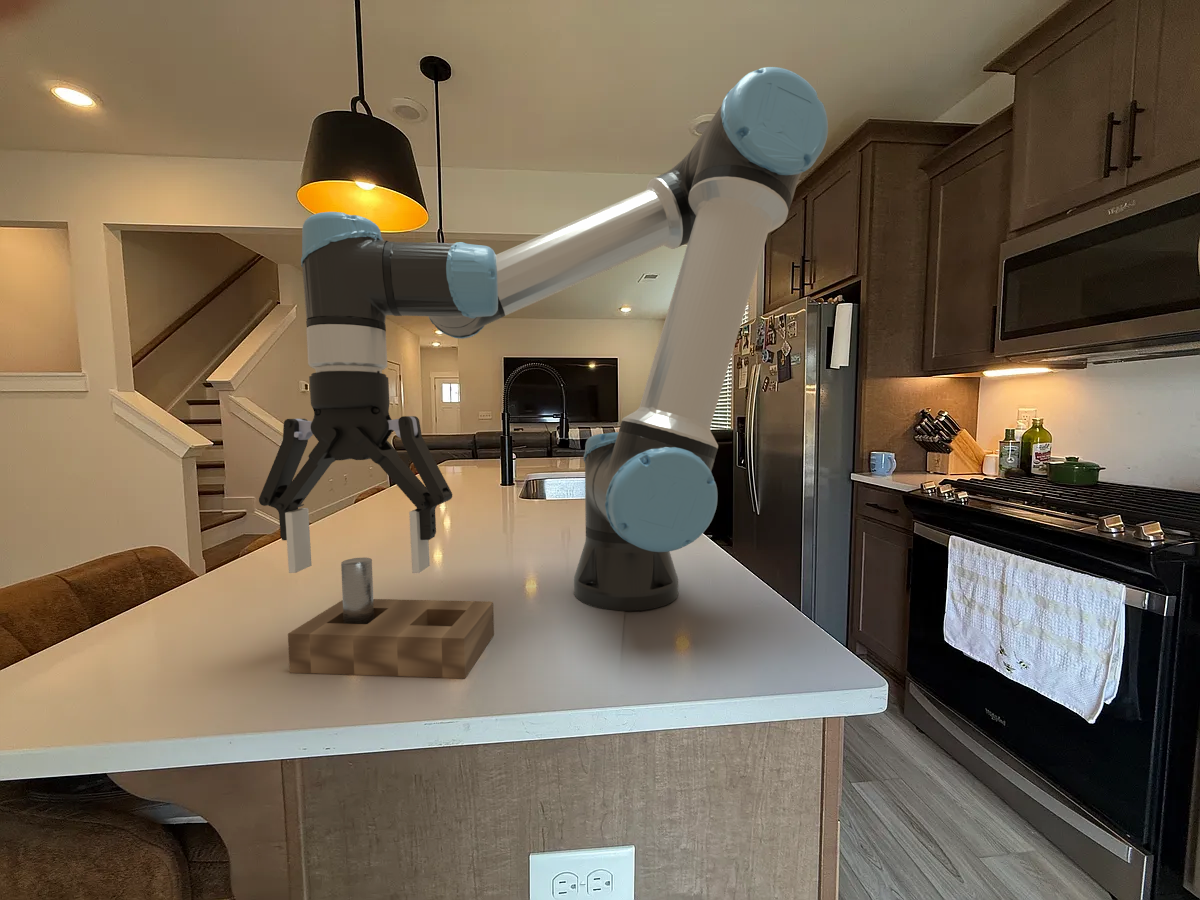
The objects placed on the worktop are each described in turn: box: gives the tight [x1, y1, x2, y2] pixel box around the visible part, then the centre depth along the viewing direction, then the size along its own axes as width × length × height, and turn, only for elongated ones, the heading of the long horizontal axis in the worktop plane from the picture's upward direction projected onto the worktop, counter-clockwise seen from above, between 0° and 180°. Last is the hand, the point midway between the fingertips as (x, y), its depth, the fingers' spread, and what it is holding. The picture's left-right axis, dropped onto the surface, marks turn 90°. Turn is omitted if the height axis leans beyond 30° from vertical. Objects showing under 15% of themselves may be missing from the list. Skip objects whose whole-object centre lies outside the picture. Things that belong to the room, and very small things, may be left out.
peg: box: [340, 557, 374, 624], centre depth 56 cm, size 3×3×10 cm
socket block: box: [287, 598, 495, 679], centre depth 56 cm, size 18×10×4 cm, turn 86°
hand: (360, 569), depth 56 cm, fingers open, 13 cm apart
